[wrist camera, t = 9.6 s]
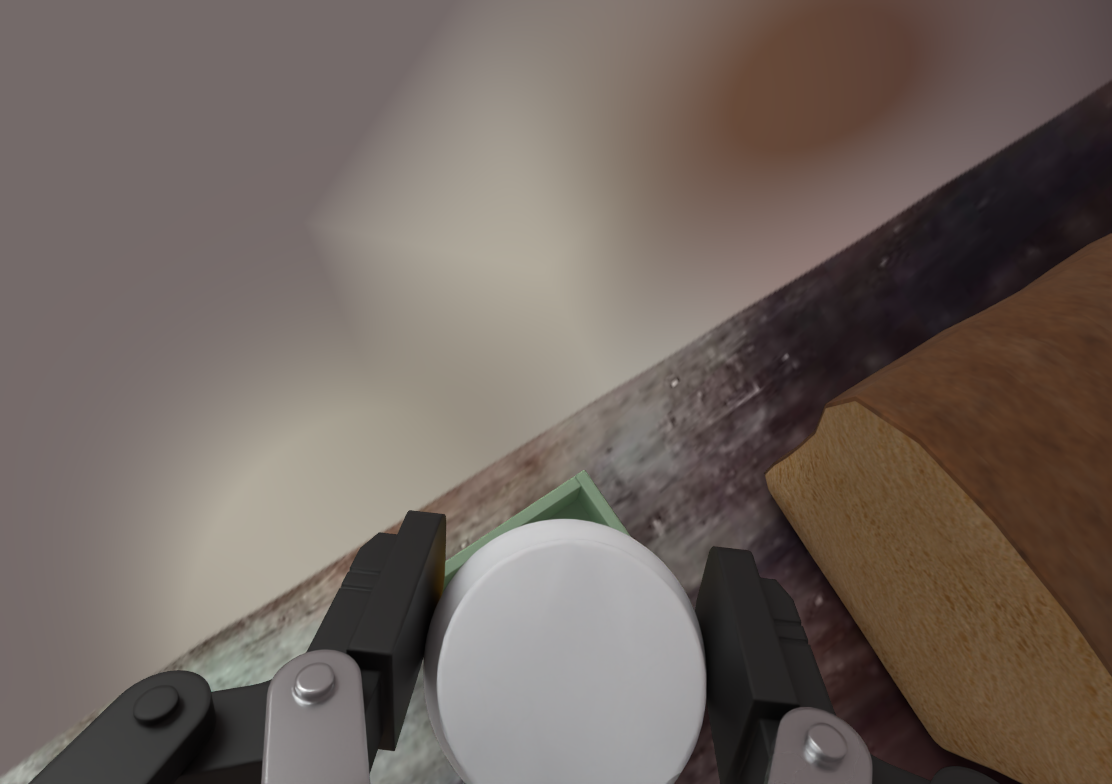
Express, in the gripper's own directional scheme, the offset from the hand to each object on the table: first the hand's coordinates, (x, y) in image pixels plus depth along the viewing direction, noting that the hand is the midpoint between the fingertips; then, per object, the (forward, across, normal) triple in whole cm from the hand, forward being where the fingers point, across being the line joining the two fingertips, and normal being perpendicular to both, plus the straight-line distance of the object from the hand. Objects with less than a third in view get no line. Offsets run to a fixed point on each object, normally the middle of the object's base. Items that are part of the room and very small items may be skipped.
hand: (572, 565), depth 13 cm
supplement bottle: (+3, 0, +6) cm, 7 cm away
